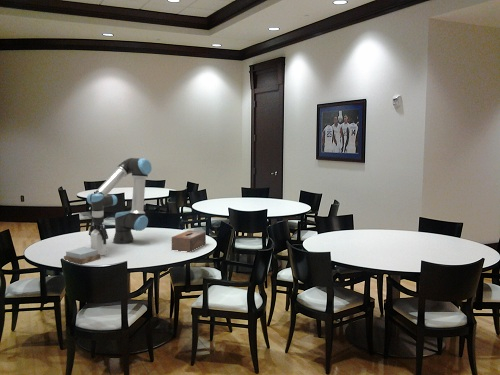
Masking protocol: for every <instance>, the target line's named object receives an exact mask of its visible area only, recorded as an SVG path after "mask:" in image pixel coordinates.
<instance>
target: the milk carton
mask: <svg viewBox="0 0 500 375" xmlns="http://www.w3.org/2000/svg"><path fill="white" fill-rule="evenodd" d="M100 230H101V228H100ZM90 249H96V250H98V254H100V257H101V256H104V255H105V256H106V255H107V248H106V249H102V237H101V234H100V232H99V231H97V230H96V229H95V230H93V231H92V233H91V236H90Z"/></svg>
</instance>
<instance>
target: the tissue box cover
mask: <svg viewBox="0 0 500 375" xmlns="http://www.w3.org/2000/svg"><path fill="white" fill-rule="evenodd" d="M206 234H207V233H206V231H201V230H199V231H197V230H191V229H190V230H186V231H183V232H181V233H178V234H176V235H173V236H171V251H172V250H178V251H177V252H181V251H187V252H186V253H191V252H193V251H192V250H194V249H196V248H198V247H200V246H202V245H204V244H206V242H207V240H206V237H207V235H206ZM204 246H205V245H204ZM202 247H203V246H202ZM200 248H201V247H200ZM198 249H199V248H198ZM196 250H197V249H196ZM190 251H191V252H190ZM194 251H195V250H194Z"/></svg>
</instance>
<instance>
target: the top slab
mask: <svg viewBox="0 0 500 375" xmlns="http://www.w3.org/2000/svg"><path fill="white" fill-rule="evenodd" d="M94 255H98V250H96V249H91V247H85V246H83V247H78V248H75V249H71V250H67V251H65V256H68V257H73V258H78V259H83V258H87V257H90V256H94Z"/></svg>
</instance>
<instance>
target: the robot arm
mask: <svg viewBox="0 0 500 375" xmlns="http://www.w3.org/2000/svg"><path fill="white" fill-rule="evenodd" d="M151 171H152V163H151V162H150V160H148V158H143V157H142V158H139V157H138V158H137V157H130V158H127V159H125V160H123V161H122V162H120V163H119V164H118V165H116V167H115V170H114V171H113V172H112V173H111V174H110V175H109V177H108V178H107V179H106V180H105V181H104V182H103V183H102V184H101V185H100V186H99V187H98V188H97V189H96V190H95V192H94V193H89V194H88V195H87V197H86V202H87V203H88V204H89V205H91V222H90V227H89V231H88V235H89V236H90V237H91V233H92V231H93V230H95V229H96V230H97V231H99V232H100V234H101V237H102V249H106V250H107V240H108V239H109V234H108V232H107V228H106V224H103V223H104V220H105V219H104V215H105V214H104V208H106V207H112V206H115V205H117V203H118V197H117V195H114V194H110V192H112V190H113V189H115V187H116V186H117V185H118V183H120V182H121V180H123V178H125V177H127V176H128V175H130V174H131V177H132V178H133V186H132V197H131V198H132V199H131V209H130V210H129V211H120V212H116V213H115V214H114V229H115V232H114V237H113V238H112V243H114V244H116V245H117V244H118V245H121V244H122V245H123V244H124V245H125V244H131V243H133V242H134V236H133V232H132V231H136V232H139V231H140V232H141V231H144V230H145V229H146V228H147V226H148V223H149V219H148V217H147V216H146V212H145V211H144V204H145V192H146V179H147V178H149V177H148V176H149V174H151ZM108 194H109V195H108ZM100 228H101V230H100Z"/></svg>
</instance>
